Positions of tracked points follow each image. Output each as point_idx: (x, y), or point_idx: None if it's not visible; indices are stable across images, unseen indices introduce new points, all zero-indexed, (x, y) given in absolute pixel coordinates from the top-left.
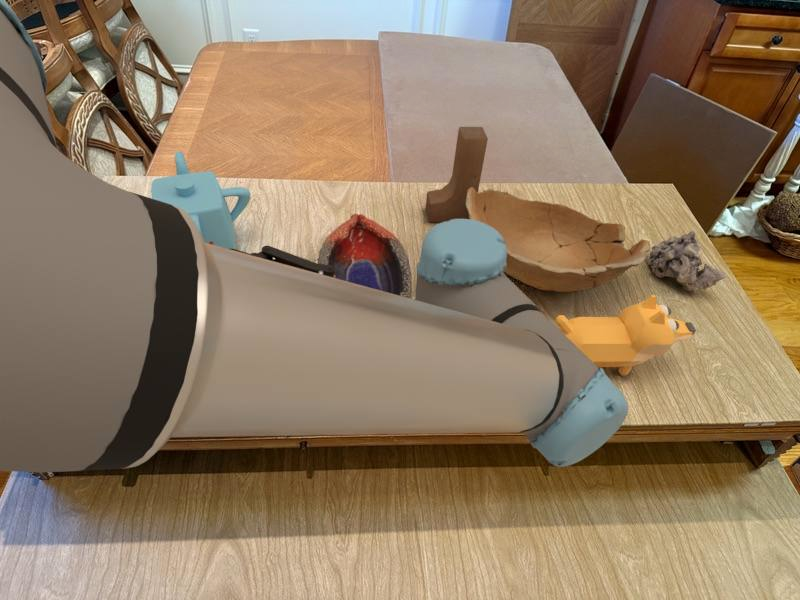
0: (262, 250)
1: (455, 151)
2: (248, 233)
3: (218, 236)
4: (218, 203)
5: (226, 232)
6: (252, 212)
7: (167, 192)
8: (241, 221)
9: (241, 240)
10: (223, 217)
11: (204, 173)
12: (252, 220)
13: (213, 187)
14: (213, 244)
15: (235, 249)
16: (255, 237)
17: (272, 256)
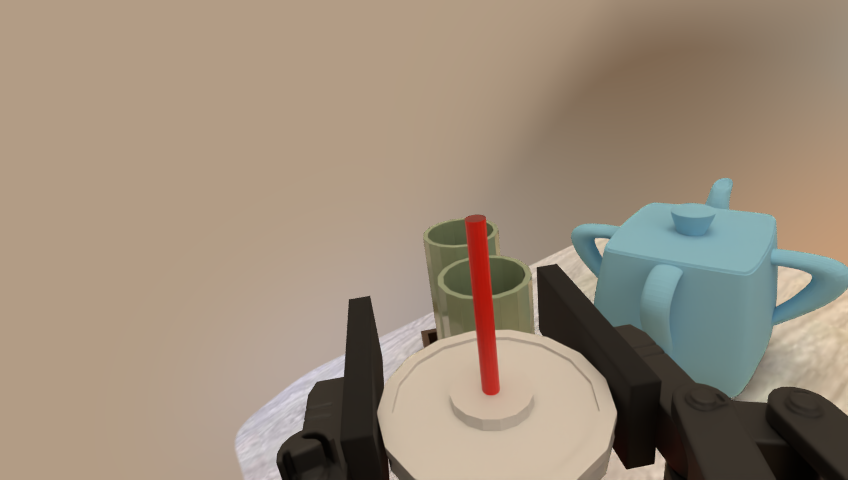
0: (770, 401)
1: None
2: (804, 370)
3: (712, 334)
4: (746, 264)
5: (736, 334)
6: (839, 337)
7: (657, 222)
8: (800, 342)
9: (777, 375)
10: (743, 297)
11: (754, 215)
12: (830, 351)
13: (756, 237)
14: (484, 231)
15: (648, 337)
16: (818, 386)
17: (820, 468)
